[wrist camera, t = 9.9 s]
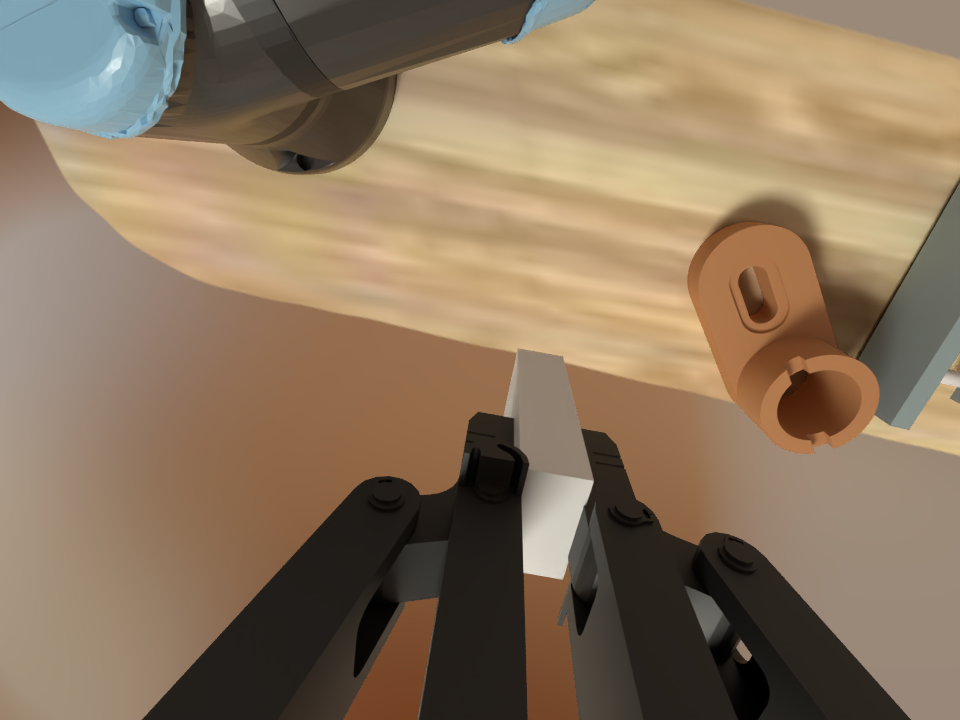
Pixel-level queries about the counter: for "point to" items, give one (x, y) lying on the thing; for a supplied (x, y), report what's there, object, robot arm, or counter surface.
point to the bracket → (778, 339)
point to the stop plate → (920, 327)
